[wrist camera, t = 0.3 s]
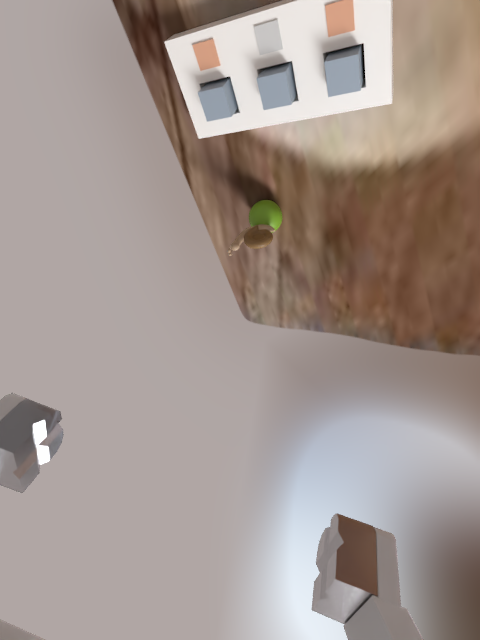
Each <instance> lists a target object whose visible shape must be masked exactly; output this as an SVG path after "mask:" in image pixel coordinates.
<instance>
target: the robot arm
mask: <svg viewBox="0 0 480 640" xmlns="http://www.w3.org/2000/svg"><path fill="white" fill-rule="evenodd" d="M61 419H62V418H61V412H60V411H58V410H55V409H53V408H50V407H48V406H45V405H42V404H40V403H37V402H34V401H32V400H29V399H27V398H24V397H22V396H19V395H16V394H13V393H11V394H9V395H6V396H4V397H3V398H2V399H1V400H0V485H1V486H4V487H7V488H10V489H12V490H15V491H18V492H20V493H23V492H24V491H25V490H26V488H27V487H28V486H29V485H30V484H31V483H32V481H33V480H34V479H35V478H36V477H37V475H38V474H39V471H40V464H43V463H45V462H47V461H49V460H51V458H52V457H53V456H54V455H55V453H56V452H57V450H58V449H59V447H60V445H61V443H62V439H63V429H62V427H61V426H60V425H59V422H60V421H61ZM316 565H317V567H318V569H319V571H320V574H319V576H318V577H317V578H316V580H315V581H314V590H313V602H312V610H313V611H315V612H317V613H320V614H322V615H324V616H326V617H329V618H331V619H334V620H336V621H338V622H340V623H343V624H345V625H344V629H345V632H346V635H347V638H348V640H423V638H422V636H421V634H420V632H419V630H418V628H417V627H416V625H415V623H414V621H413V619H412V617H411V615H410V613H409V612H408V610H407V609H406V608H404V607H402V606H401V600H400V588H399V574H398V562H397V549H396V539H395V537H394V535H393V534H392V533H389V532H386V531H383V530H381V529H378V528H375V527H373V526H371V525H368V524H365V523H362V522H360V521H357V520H354V519H351V518H348V517H345V516H343V515H339V514H335V515H334V516H333V517H332V519H331V526H330V527H329V528H326V529H325V530H324V532H323V534H322V536H321V539H320V543H319V546H318V552H317V559H316ZM0 640H45V639H42V638H40V637H38V636H36V635H34V634H32V633H29V632H27V631H25V630H23V629H20V628H18V627H16V626H14V625H11V624H9V623H7V622H5V621H3V620H0Z"/></svg>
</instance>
